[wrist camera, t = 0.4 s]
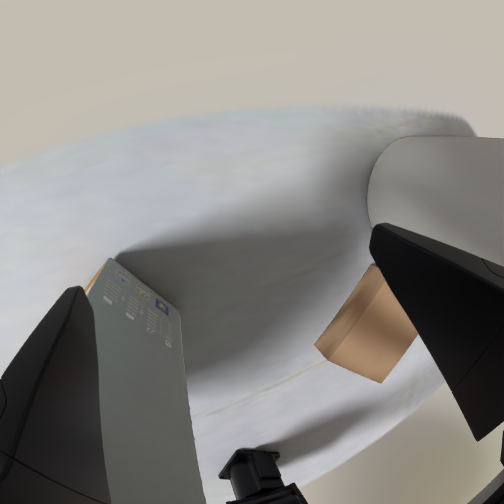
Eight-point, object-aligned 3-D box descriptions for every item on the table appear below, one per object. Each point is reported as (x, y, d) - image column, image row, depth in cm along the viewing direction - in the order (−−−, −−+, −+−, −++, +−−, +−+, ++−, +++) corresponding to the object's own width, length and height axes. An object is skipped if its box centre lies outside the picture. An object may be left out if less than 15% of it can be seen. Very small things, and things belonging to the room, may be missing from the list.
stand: (367, 370, 34) (381, 383, 31) (314, 344, 30) (327, 360, 27) (415, 303, 33) (431, 313, 31) (371, 264, 30) (389, 273, 27)
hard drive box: (109, 252, 22) (10, 495, 4) (182, 310, 25) (235, 557, 6) (29, 367, 22) (-29, 540, 4) (91, 408, 25) (78, 585, 7)
